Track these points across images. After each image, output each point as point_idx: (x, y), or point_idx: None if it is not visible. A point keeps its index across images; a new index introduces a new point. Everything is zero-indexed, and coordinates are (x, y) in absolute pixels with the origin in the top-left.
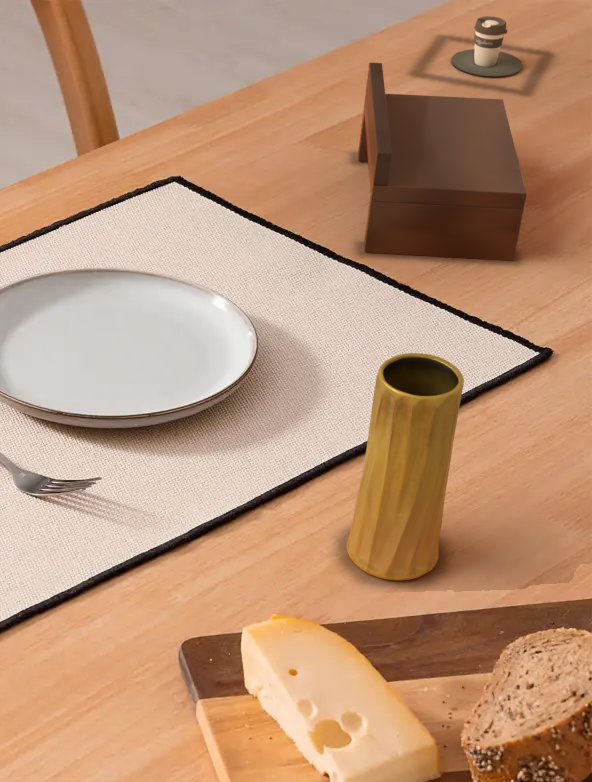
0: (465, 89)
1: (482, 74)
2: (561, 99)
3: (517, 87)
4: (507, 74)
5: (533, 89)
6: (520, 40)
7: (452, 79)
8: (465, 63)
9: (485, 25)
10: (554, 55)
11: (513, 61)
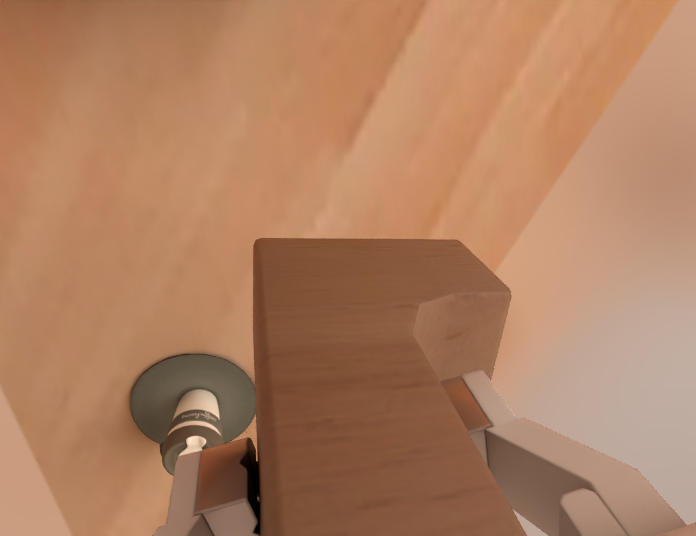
0: (202, 295)
1: (188, 358)
2: (16, 320)
3: (114, 338)
4: (146, 374)
5: (83, 341)
6: (169, 500)
7: (236, 326)
8: (229, 388)
9: (199, 443)
10: (97, 475)
11: (153, 424)
